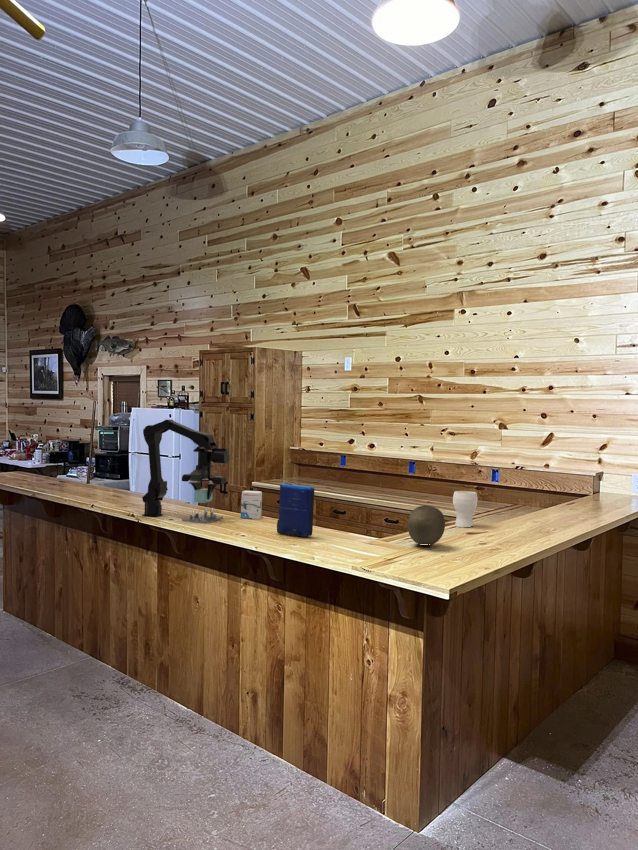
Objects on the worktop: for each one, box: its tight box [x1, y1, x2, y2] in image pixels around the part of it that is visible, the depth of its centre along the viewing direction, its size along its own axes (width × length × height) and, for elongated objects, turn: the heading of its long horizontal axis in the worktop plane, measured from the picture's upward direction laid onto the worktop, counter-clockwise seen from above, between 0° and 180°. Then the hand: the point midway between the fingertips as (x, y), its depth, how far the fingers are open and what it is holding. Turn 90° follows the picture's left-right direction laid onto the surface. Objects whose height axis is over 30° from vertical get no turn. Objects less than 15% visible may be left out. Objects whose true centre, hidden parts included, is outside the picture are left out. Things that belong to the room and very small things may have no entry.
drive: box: [193, 488, 214, 504], centre depth 276 cm, size 4×8×5 cm, turn 162°
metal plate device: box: [181, 507, 224, 524], centre depth 276 cm, size 12×14×4 cm
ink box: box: [240, 490, 263, 520], centre depth 284 cm, size 9×5×12 cm, turn 84°
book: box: [276, 482, 315, 538], centre depth 248 cm, size 14×5×20 cm, turn 62°
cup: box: [452, 490, 479, 528], centre depth 282 cm, size 11×11×15 cm
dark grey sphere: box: [407, 504, 446, 546], centre depth 236 cm, size 14×14×15 cm
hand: (203, 499), depth 276 cm, fingers closed on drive, 4 cm apart
